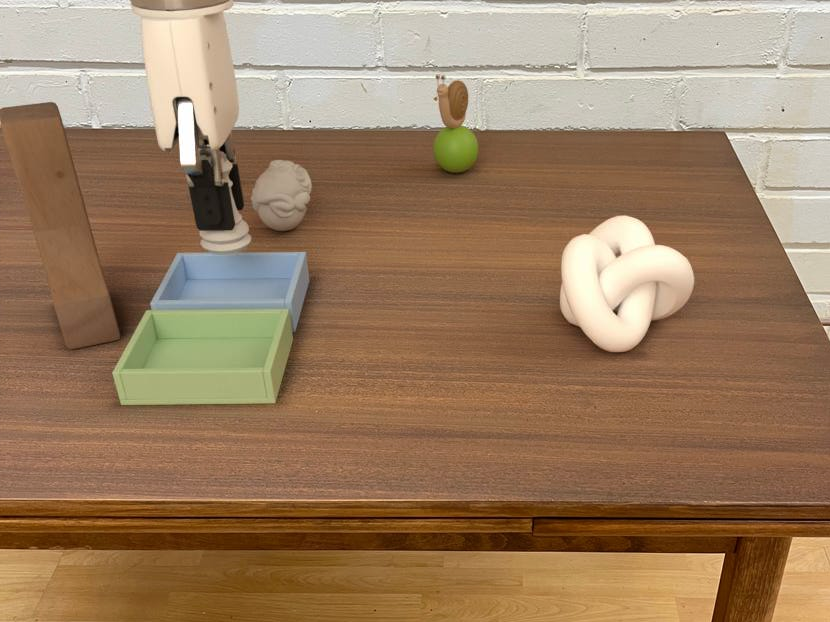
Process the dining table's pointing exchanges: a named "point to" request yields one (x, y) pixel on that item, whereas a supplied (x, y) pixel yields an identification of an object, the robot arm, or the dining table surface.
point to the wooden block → (60, 223)
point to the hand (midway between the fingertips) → (221, 217)
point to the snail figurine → (454, 129)
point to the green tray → (205, 357)
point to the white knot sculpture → (621, 282)
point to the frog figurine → (282, 195)
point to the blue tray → (235, 282)
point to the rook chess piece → (226, 239)
